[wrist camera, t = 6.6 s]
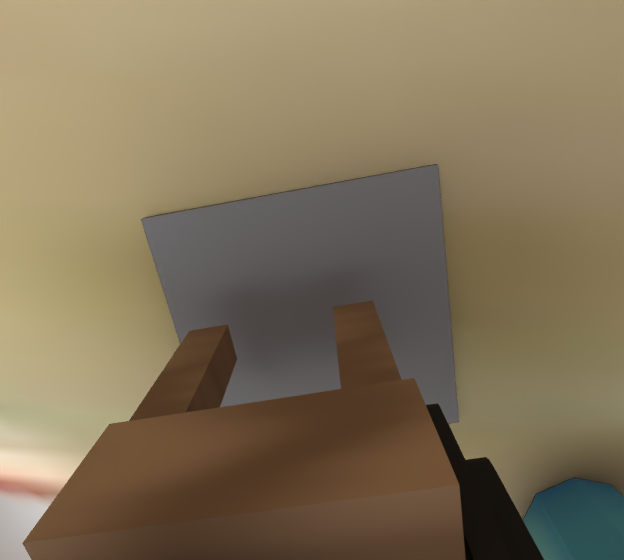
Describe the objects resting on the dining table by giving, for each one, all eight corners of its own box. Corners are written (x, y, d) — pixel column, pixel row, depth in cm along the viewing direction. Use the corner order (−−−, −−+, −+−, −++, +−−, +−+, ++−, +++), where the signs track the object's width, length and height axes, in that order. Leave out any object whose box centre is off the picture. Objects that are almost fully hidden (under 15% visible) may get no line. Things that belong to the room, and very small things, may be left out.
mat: (435, 163, 16) (438, 164, 16) (456, 416, 20) (459, 422, 19) (145, 217, 17) (140, 219, 16) (217, 449, 21) (215, 454, 20)
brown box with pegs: (378, 292, 12) (459, 485, 5) (400, 455, 14) (481, 749, 7) (181, 325, 12) (22, 543, 6) (229, 479, 14) (153, 777, 7)
